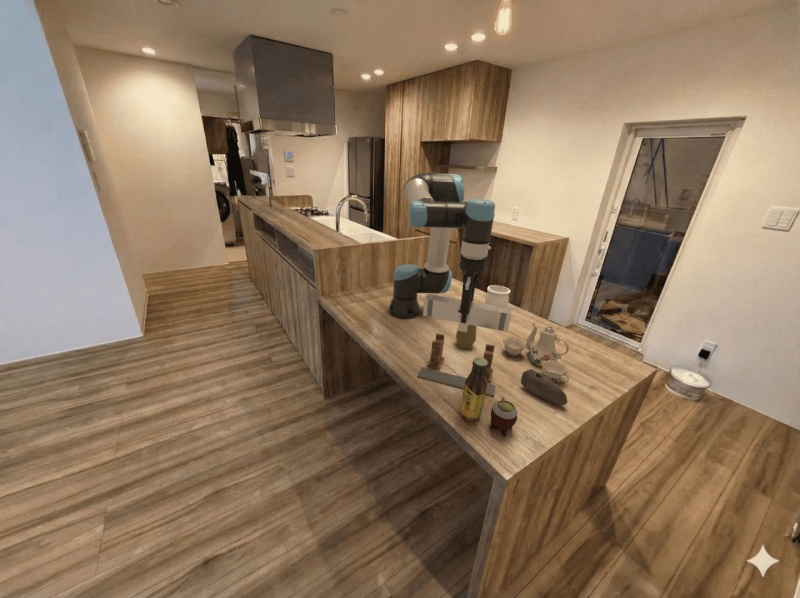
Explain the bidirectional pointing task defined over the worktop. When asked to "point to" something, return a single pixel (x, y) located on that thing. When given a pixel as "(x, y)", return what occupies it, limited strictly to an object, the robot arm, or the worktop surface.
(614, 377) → the worktop surface
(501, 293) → the jar
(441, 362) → the standard left
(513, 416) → the mate gourd
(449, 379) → the mat
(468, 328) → the squeeze bottle
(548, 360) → the chinaware
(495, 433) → the worktop surface
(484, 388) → the sauce bottle
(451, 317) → the rail
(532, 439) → the worktop surface
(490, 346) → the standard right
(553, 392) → the perforated stone tool
